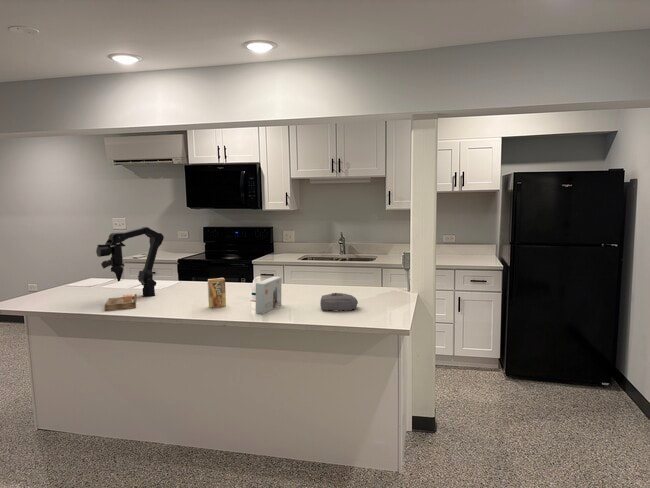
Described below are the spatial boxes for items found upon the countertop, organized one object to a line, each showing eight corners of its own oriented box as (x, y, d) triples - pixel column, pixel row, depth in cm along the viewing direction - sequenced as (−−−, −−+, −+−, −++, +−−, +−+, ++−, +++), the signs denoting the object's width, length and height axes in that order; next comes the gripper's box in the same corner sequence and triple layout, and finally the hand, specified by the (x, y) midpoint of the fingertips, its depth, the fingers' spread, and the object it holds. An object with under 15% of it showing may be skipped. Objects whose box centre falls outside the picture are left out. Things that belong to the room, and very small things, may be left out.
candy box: (224, 304, 252) (223, 277, 250) (226, 306, 248) (225, 278, 246) (208, 306, 248) (207, 279, 246) (210, 308, 244) (208, 280, 242)
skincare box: (264, 314, 230) (263, 283, 228) (255, 313, 232) (254, 283, 230) (282, 304, 250) (281, 276, 248) (273, 303, 252) (272, 275, 250)
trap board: (136, 299, 268) (136, 293, 268) (135, 308, 247) (135, 302, 246) (109, 301, 263) (108, 296, 262) (105, 311, 241) (105, 305, 241)
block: (132, 299, 258) (131, 294, 257) (131, 301, 253) (131, 296, 253) (123, 300, 256) (123, 295, 256) (123, 302, 252) (122, 296, 251)
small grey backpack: (319, 312, 233) (358, 312, 231) (319, 296, 232) (358, 296, 230) (321, 305, 248) (357, 305, 246) (321, 290, 247) (357, 290, 245)
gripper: (102, 253, 266) (104, 279, 268) (99, 257, 249) (102, 285, 251) (123, 252, 270) (125, 277, 272) (121, 256, 253) (123, 283, 255)
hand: (118, 281), depth 262 cm, fingers closed
